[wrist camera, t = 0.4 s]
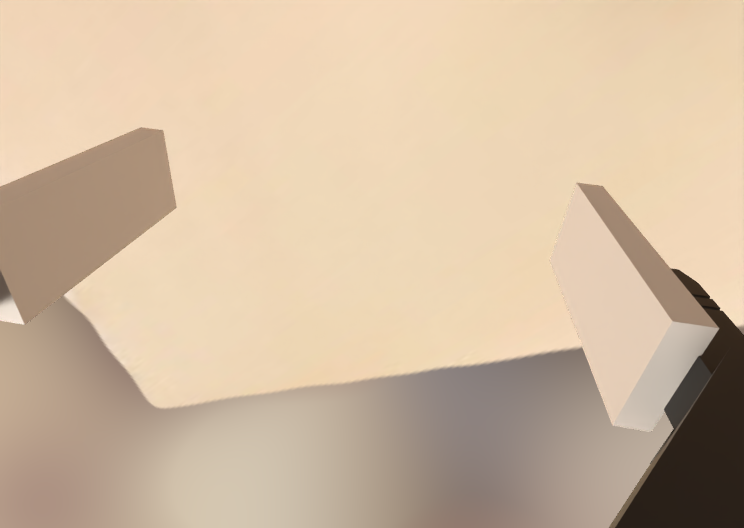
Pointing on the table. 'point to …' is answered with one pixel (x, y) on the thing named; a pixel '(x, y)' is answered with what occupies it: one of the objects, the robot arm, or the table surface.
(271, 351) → the table surface
